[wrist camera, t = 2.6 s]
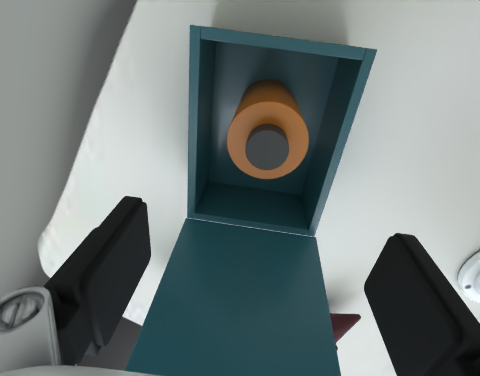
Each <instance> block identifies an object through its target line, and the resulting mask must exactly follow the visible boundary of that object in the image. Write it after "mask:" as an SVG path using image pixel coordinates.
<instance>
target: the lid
mask: <svg viewBox="0 0 480 376" xmlns="http://www.w3.org/2000/svg"><path fill="white" fill-rule="evenodd" d="M125 371H129V372H137V373H145V374H153V375H160V376H341V373H340V367H339V362H338V356H337V351H336V345H335V340H334V334H333V329H332V323H331V318H330V312H329V307H328V301H327V296H326V290H325V285H324V279H323V274H322V268H321V263H320V257H319V252H318V246H317V241H316V237H310V236H303V235H296V234H289V233H283V232H276V231H269V230H263V229H256V228H249V227H242V226H236V225H229V224H222V223H216V222H209V221H202V220H196V219H189V218H186V219H185V222H184V224H183V227H182V229H181V232H180V234H179V237H178V239H177V242H176V244H175V247H174V249H173V252H172V254H171V257H170V259H169V262H168V264H167V266H166V269H165V271H164V274H163V276H162V279H161V281H160V284H159V286H158V289H157V291H156V294H155V296H154V299H153V301H152V304H151V306H150V309H149V311H148V314H147V316H146V319H145V321H144V323H143V326H142V329H141V331H140V333H139V336H138V338H137V341H136V343H135V346H134V349H133V351H132V353H131V356H130V358H129V361H128V363H127V366H126V368H125Z"/></svg>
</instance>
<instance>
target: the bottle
mask: <svg viewBox="0 0 480 376" xmlns="http://www.w3.org/2000/svg"><path fill="white" fill-rule="evenodd" d="M308 144H309V135H308V130H307V127H306V124H305V122H304V119H303V117H302V114H301V112H300V110H299V107H298V105H297V102H296V100H295V98H294V95H293V93H292V92H291V90H290V89H289V88H288V87H287V86H286V85H285V84H284V83H282V82H280V81H278V80H274V79H264V80H260V81H257V82H255V83H254V84H252V85H251V86H250V87H249V88H248V89H247V90H246V91H245V92H244V94H243V96H242V98H241V101H240V103H239V105H238V108H237V110H236V113H235V115H234V117H233V120H232V122H231V124H230V127H229V130H228V134H227V148H228V152H229V155H230V157H231V159H232V160H233V162H234V163H235V164H236V166H237V167H238V168H239V169H240V170H242V171H243V172H245V173H246V174H248V175H250V176H253V177H256V178H261V179H274V178H278V177H281V176H284V175H286V174H288V173H290V172H291V171H293V170H294V169H295V168H296V167H297V166H298V165H299V164H300V163H301V162H302V160H303V158H304V157H305V155H306V152H307V149H308Z"/></svg>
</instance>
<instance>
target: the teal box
mask: <svg viewBox="0 0 480 376" xmlns="http://www.w3.org/2000/svg"><path fill="white" fill-rule="evenodd" d="M376 52H377V50H376V49H369V48H362V47H355V46H347V45H340V44H332V43H324V42H317V41H309V40H302V39H294V38H287V37H279V36H272V35H264V34H256V33H249V32H241V31H234V30H226V29H219V28H211V27H203V26H195V25H190V59H189V131H188V203H187V218H192V219H199V220H206V221H213V222H219V223H226V224H233V225H239V226H246V227H253V228H260V229H266V230H273V231H280V232H286V233H293V234H300V235H307V236H313V237H314V236H315V233H316V230H317V227H318V224H319V221H320V218H321V215H322V212H323V209H324V206H325V203H326V200H327V197H328V194H329V191H330V188H331V185H332V182H333V179H334V176H335V174H336V171H337V168H338V165H339V162H340V159H341V156H342V153H343V150H344V147H345V144H346V141H347V138H348V135H349V132H350V129H351V126H352V123H353V120H354V117H355V114H356V111H357V108H358V105H359V102H360V99H361V96H362V93H363V91H364V88H365V85H366V82H367V79H368V76H369V73H370V70H371V67H372V64H373V61H374V58H375V55H376ZM264 79H274V80H278V81H280V82H282V83H284V84H285V85H286V86H287V87H288V88H289V89H290V90H291V92H292V93H293V95H294V98H295V100H296V102H297V105H298V107H299V110H300V112H301V114H302V117H303V119H304V122H305V124H306V127H307V130H308V135H309V144H308V149H307V152H306V155H305V157H304V158H303V160H302V162H301V163H300V164H299V165H298V166H297V167H296V168H295V169H294V170H293V171H291V172H290V173H288V174H286V175H284V176H281V177H278V178H274V179H261V178H256V177H253V176H250V175H248V174H246V173H245V172H243V171H242V170H240V169H239V168H238V167H237V166H236V164H235V163H234V162H233V160H232V159H231V157H230V155H229V152H228V148H227V134H228V130H229V127H230V124H231V122H232V120H233V117H234V115H235V113H236V110H237V108H238V105H239V103H240V101H241V98H242V96H243V94H244V92H245V91H246V90H247V89H248V88H249V87H250V86H251V85H252V84H254V83H255V82H257V81H260V80H264Z"/></svg>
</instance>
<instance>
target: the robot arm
mask: <svg viewBox="0 0 480 376" xmlns="http://www.w3.org/2000/svg"><path fill="white" fill-rule="evenodd" d="M150 257H151V247H150V236H149V225H148V214H147V204H146V203H145V202H142V199H141V198H137V197H130V196H125V197H124V198H123V199H122V200H121V201H120V202H119V203H118V205H117V206H116V207H115V208H114V209H113V210H112V212H111V213H110V214H109V215H108V216H107V217H106V219H105V220H104V221H103V222H102V223H101V225H100V226H99V227H97V228H95V229H93V230H92V231H91V232H90V234H89V235H88V236H87V237H86V238H85V239H84V240H83V242H82V243H81V244H80V245H79V246H78V247H77V249H76V250H75V251H74V252H73V253H72V254H71V256H70V257H69V258H68V259H67V260H66V261H65V262H64V264H63V265H62V266H61V267H60V268H59V269H58V271H57V272H56V273H55V274H54V275H53V276H52V277H51V279H50V280H49V281H48V282H47V283H46V284H45V286H44V287H40V286H27V287H22V288H18V289H16V290H14V291H11V292H9V293H7V294H5V295H4V296H2V297H1V298H0V376H160V375H153V374H145V373H137V372H129V371H120V370H112V369H103V368H95V367H81V366H77V364H78V363H79V362H80V361H81V360H82V358H83V356H84V354H88V355H94V356H97V355H98V353H99V351H100V349H101V347H102V346H106V345H107V344H108V343H109V341H110V339H111V337H112V335H113V333H114V331H115V329H116V327H117V325H118V323H119V321H120V319H121V317H122V315H123V313H124V311H125V309H126V307H127V305H128V303H129V301H130V299H131V297H132V295H133V293H134V291H135V289H136V287H137V285H138V283H139V281H140V279H141V277H142V275H143V273H144V271H145V269H146V267H147V265H148V263H149V261H150ZM458 285H459V287H460V289H461V290H462V292H463V293H464V294H465V296H466V297H468V298H469V299H470V300H472V301H474V302H476V303H479V304H480V252H478V253H477V254H475V255H474V256H472V257H471V258H470V259H469V260H468V261H467V262H466V263H465V264H464V266H463V267H462V269H461V270H460V272H459V276H458ZM364 291H365V294H366V297H367V299H368V302H369V304H370V307H371V310H372V312H373V315H374V317H375V320H376V323H377V325H378V328H379V330H380V333H381V336H382V338H383V341H384V343H385V346H386V349H387V351H388V354H389V356H390V359H391V361H392V364H393V367H394V369H395V372H396V374H397V376H480V323H479V322H478V321H477V319H476V318H475V317H474V315H473V314H472V312H471V311H470V310H469V308H468V307H467V306H466V304H465V303H464V302H463V300H462V299H461V298H460V296H459V295H458V294H457V292H456V291H455V289H454V288H453V287H452V285H451V284H450V283H449V281H448V280H447V279H446V277H445V276H444V275H443V273H442V272H441V270H440V269H439V268H438V266H437V265H436V264H435V262H434V261H433V260H432V258H431V257H430V256H429V254H428V253H427V252H426V250H425V249H424V247H423V246H422V245H421V243H420V242H419V241H418V239H417V238H416V237H415V236H413V235H408V234H400V233H396V234H395V235H394V236H391V237H389V239H388V240H387V242H386V244H385V246H384V248H383V250H382V252H381V254H380V255H379V257H378V259H377V261H376V263H375V265H374V267H373V269H372V270H371V272H370V274H369V276H368V278H367V280H366V282H365V285H364Z"/></svg>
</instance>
